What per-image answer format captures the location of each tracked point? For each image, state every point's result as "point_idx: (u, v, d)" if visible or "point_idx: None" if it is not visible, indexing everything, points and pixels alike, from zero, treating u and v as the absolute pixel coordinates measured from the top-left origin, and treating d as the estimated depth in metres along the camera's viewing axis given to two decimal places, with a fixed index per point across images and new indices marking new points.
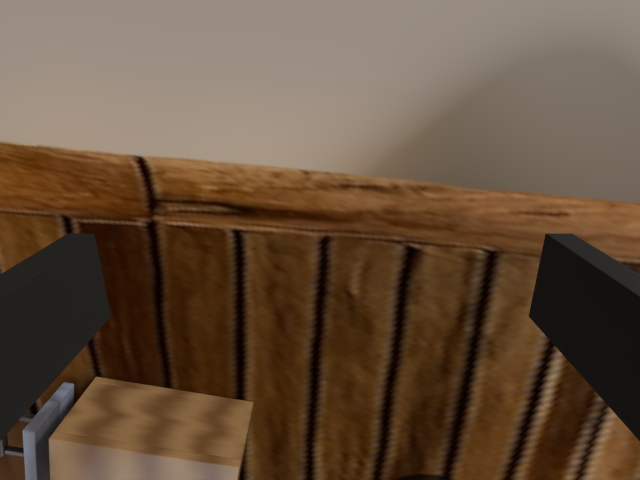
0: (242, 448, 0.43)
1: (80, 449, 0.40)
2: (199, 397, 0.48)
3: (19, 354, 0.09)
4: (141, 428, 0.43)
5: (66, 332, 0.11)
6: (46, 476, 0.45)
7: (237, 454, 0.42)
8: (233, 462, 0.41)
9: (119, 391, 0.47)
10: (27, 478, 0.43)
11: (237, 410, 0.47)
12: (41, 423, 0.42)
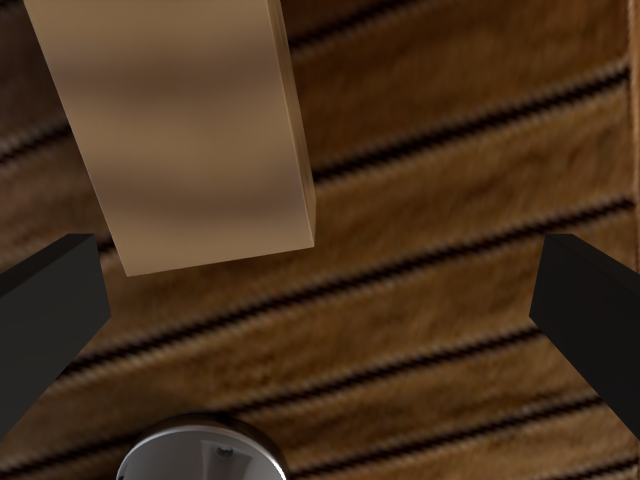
0: (314, 230, 0.23)
1: None
2: (299, 110, 0.27)
3: (19, 354, 0.09)
4: (276, 21, 0.20)
5: (66, 332, 0.11)
6: None
7: (313, 228, 0.22)
8: (312, 231, 0.21)
9: None
10: None
11: (312, 183, 0.27)
12: None
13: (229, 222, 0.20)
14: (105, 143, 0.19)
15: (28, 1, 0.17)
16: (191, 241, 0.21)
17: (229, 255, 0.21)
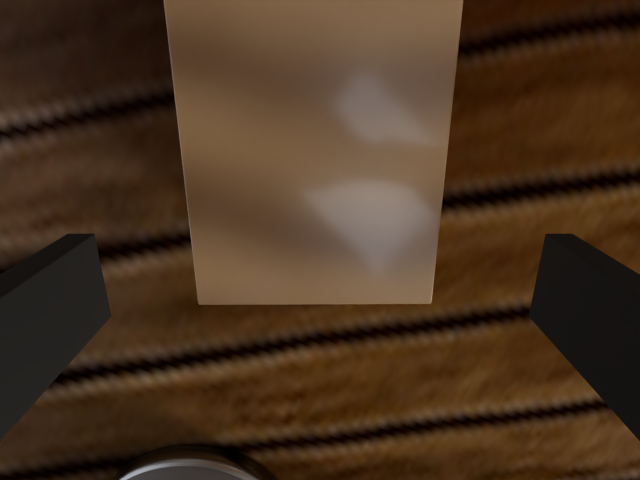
0: None
1: None
2: None
3: (19, 354, 0.09)
4: None
5: (66, 332, 0.11)
6: None
7: None
8: None
9: None
10: None
11: None
12: None
13: (340, 261, 0.17)
14: (216, 144, 0.15)
15: None
16: (288, 275, 0.17)
17: (329, 298, 0.17)
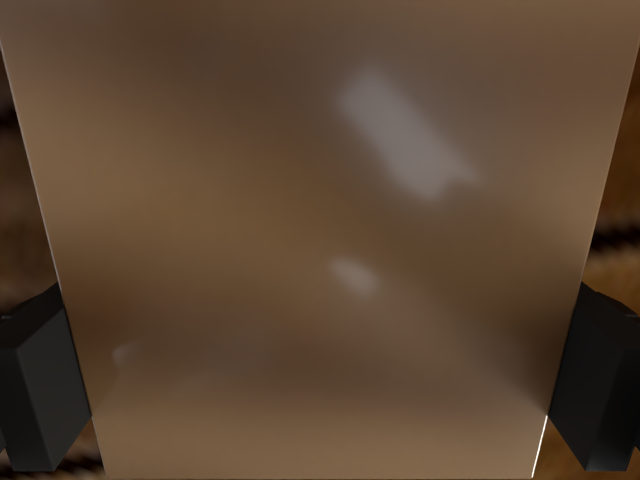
0: None
1: None
2: None
3: None
4: None
5: None
6: None
7: None
8: None
9: None
10: None
11: None
12: None
13: (369, 412, 0.09)
14: (113, 200, 0.07)
15: None
16: (271, 435, 0.09)
17: (346, 471, 0.10)
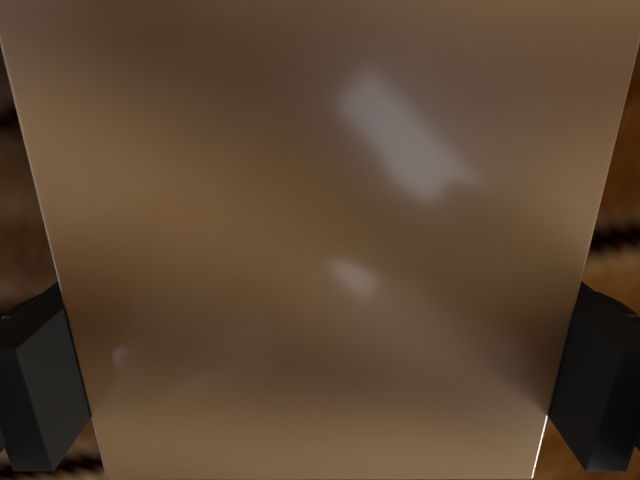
0: None
1: None
2: None
3: None
4: None
5: None
6: None
7: None
8: None
9: None
10: None
11: None
12: None
13: (369, 412, 0.09)
14: (112, 200, 0.07)
15: None
16: (270, 435, 0.09)
17: (346, 472, 0.09)
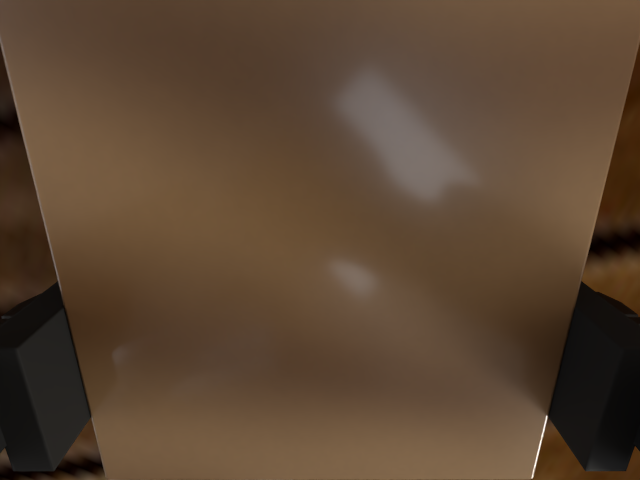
0: None
1: None
2: None
3: None
4: None
5: None
6: None
7: None
8: None
9: None
10: None
11: None
12: None
13: (369, 412, 0.09)
14: (112, 199, 0.07)
15: None
16: (270, 435, 0.09)
17: (346, 472, 0.09)
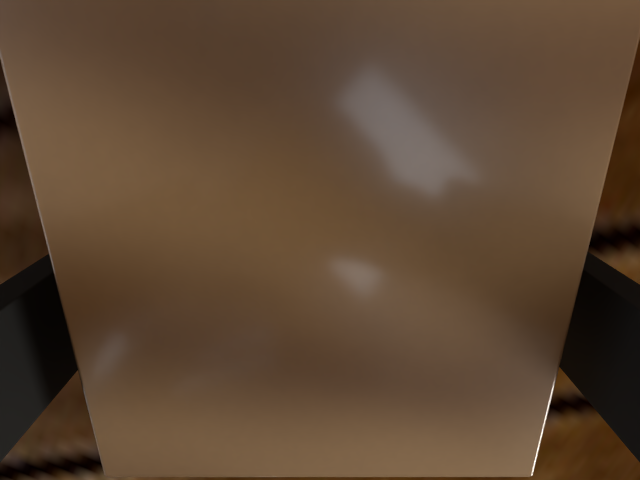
0: None
1: None
2: None
3: (44, 346, 0.09)
4: None
5: None
6: None
7: None
8: None
9: None
10: None
11: None
12: None
13: (367, 409, 0.09)
14: (110, 196, 0.07)
15: None
16: (269, 433, 0.09)
17: (345, 469, 0.09)
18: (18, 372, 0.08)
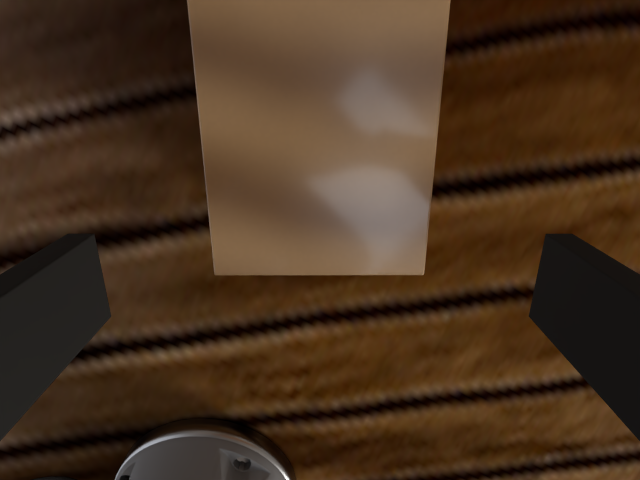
0: None
1: None
2: None
3: (19, 354, 0.09)
4: None
5: (66, 332, 0.11)
6: None
7: None
8: None
9: None
10: None
11: None
12: None
13: (342, 235, 0.19)
14: (231, 129, 0.17)
15: None
16: (295, 248, 0.19)
17: (332, 270, 0.19)
18: None
